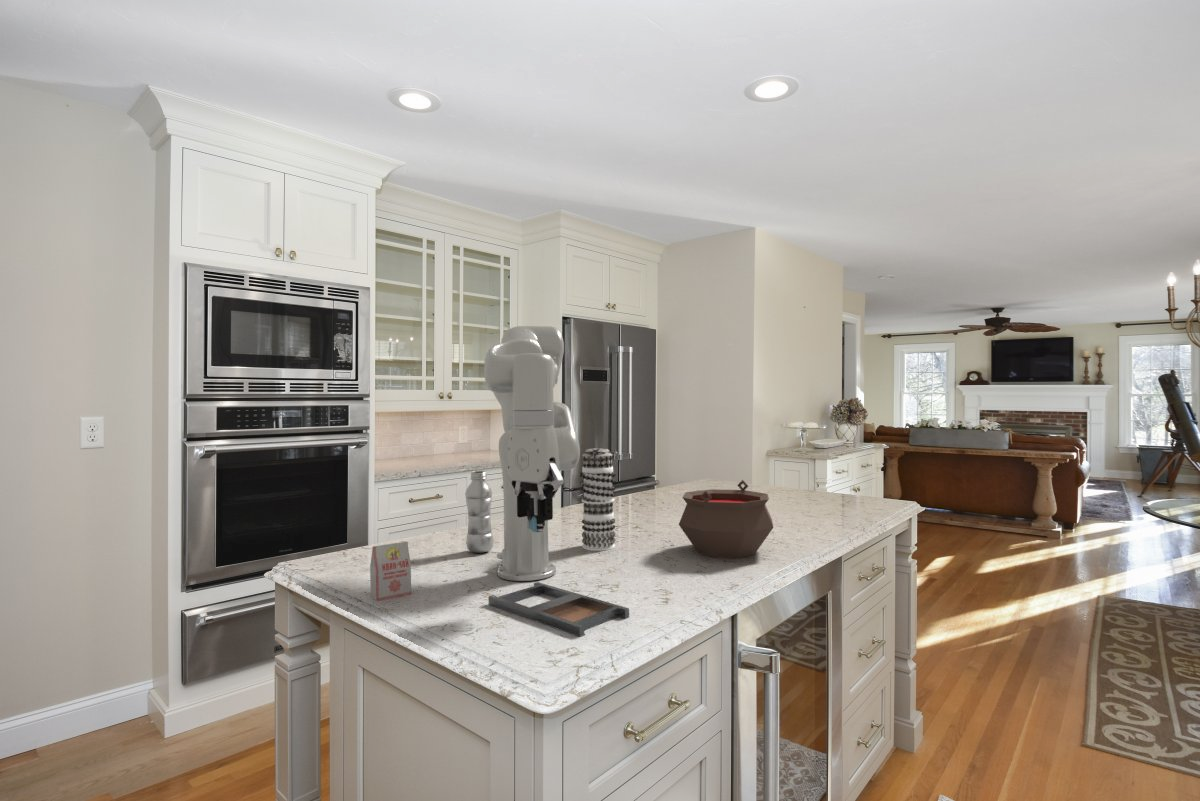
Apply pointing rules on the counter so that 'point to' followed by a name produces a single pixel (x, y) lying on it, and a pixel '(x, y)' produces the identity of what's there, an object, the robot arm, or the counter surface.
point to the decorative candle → (598, 500)
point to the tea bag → (390, 571)
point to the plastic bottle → (479, 514)
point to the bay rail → (560, 608)
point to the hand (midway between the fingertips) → (534, 517)
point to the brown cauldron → (726, 521)
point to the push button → (533, 507)
